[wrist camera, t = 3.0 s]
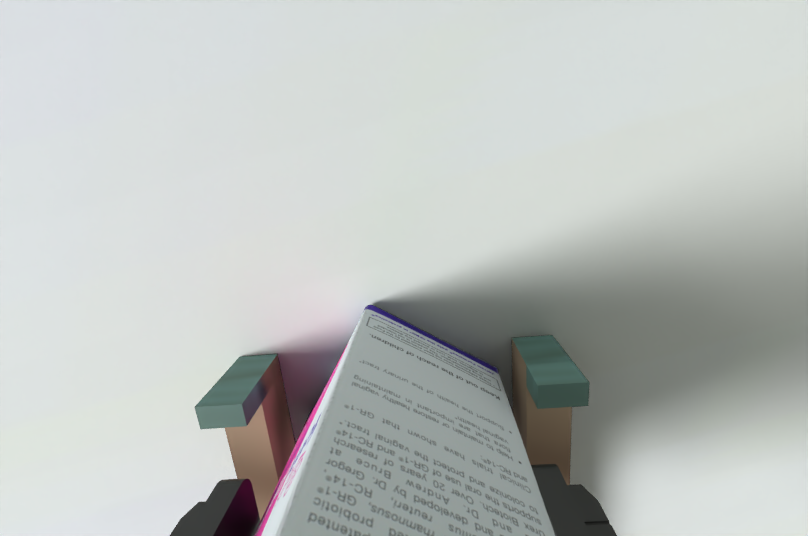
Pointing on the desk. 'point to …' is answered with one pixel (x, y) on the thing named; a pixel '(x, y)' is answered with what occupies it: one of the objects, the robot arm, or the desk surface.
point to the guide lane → (273, 436)
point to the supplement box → (407, 446)
